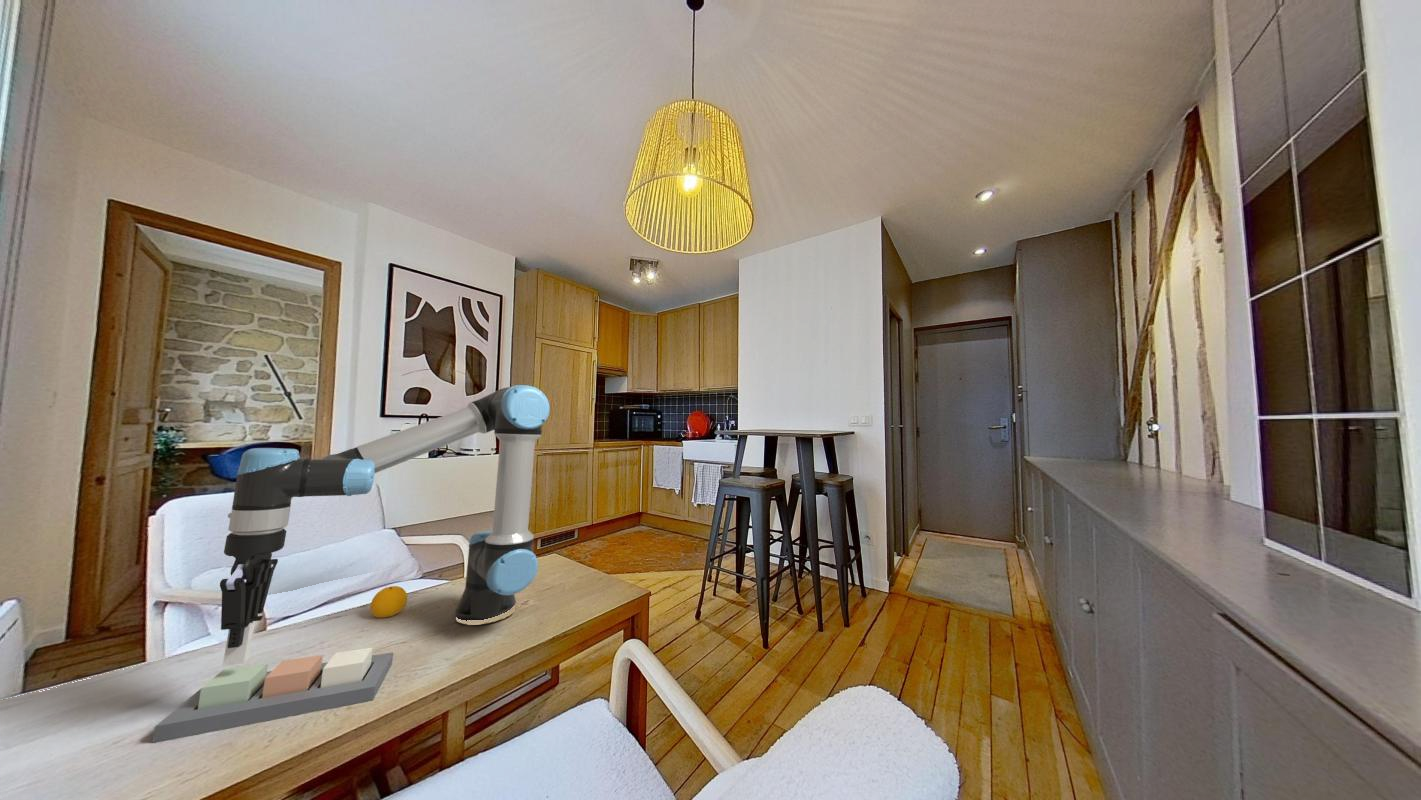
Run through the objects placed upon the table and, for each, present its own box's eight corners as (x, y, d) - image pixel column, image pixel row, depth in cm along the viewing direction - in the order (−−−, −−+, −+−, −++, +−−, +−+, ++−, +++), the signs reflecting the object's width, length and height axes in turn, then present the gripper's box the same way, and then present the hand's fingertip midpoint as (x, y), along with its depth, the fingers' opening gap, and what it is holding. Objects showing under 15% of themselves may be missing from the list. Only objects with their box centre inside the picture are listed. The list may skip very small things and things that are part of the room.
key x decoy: (320, 673, 80) (322, 654, 80) (306, 690, 75) (309, 671, 75) (279, 679, 77) (282, 660, 78) (262, 698, 72) (265, 677, 72)
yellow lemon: (409, 607, 115) (412, 580, 116) (401, 619, 108) (404, 590, 109) (374, 610, 112) (378, 583, 113) (364, 623, 105) (367, 593, 106)
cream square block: (370, 664, 83) (372, 647, 84) (360, 681, 78) (363, 662, 78) (333, 671, 81) (335, 652, 81) (320, 688, 75) (323, 668, 76)
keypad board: (391, 664, 88) (393, 652, 88) (373, 700, 76) (374, 686, 76) (208, 694, 76) (210, 680, 76) (152, 742, 64) (155, 726, 64)
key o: (265, 682, 76) (268, 662, 77) (246, 701, 71) (249, 680, 71) (220, 689, 74) (223, 669, 74) (197, 709, 69) (201, 688, 69)
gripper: (251, 523, 79) (229, 648, 77) (205, 539, 68) (178, 687, 65) (301, 522, 83) (282, 642, 80) (266, 537, 71) (242, 678, 69)
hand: (235, 662), depth 73 cm, fingers closed
